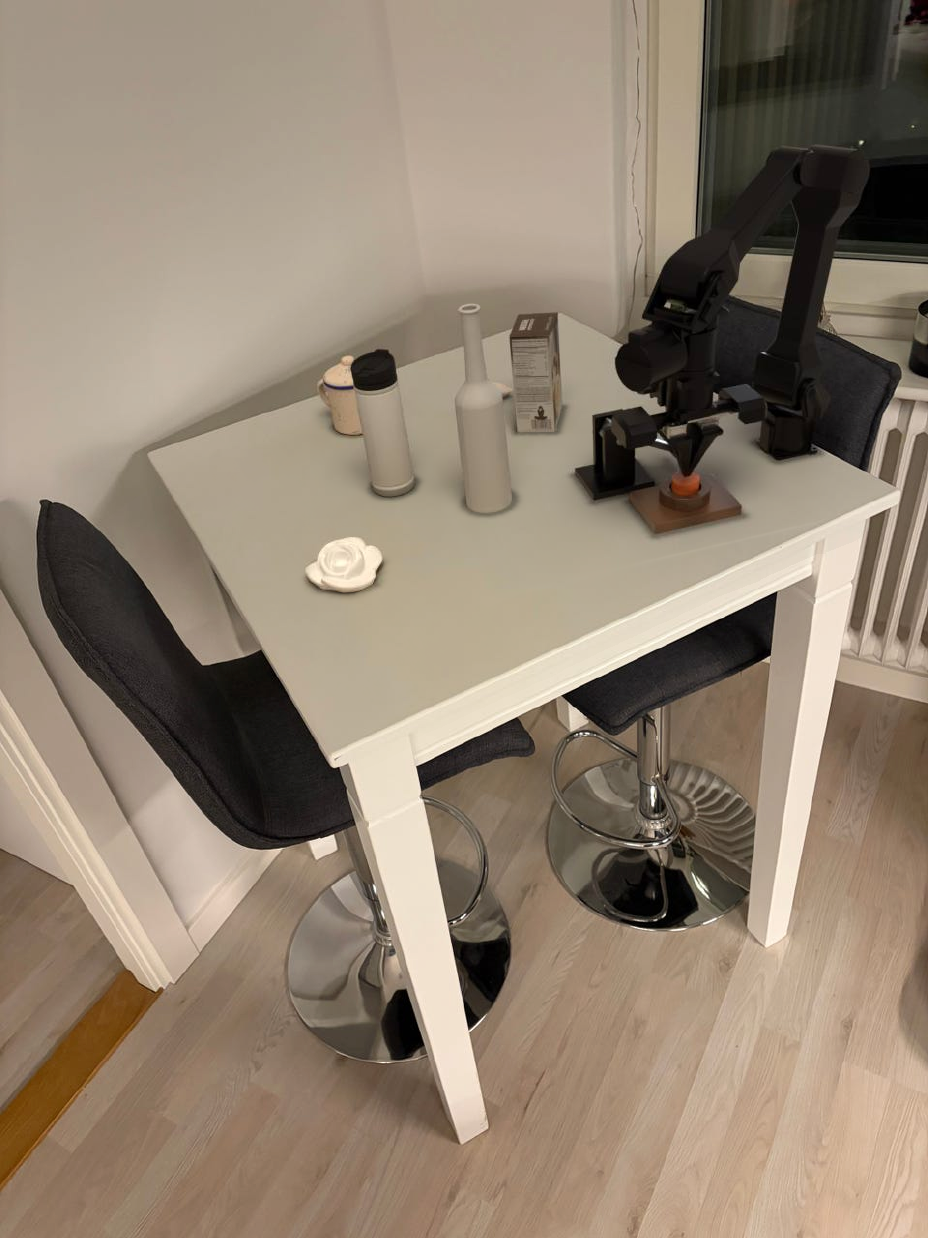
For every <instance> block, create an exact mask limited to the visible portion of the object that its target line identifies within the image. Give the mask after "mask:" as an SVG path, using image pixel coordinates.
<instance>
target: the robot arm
mask: <svg viewBox="0 0 928 1238" xmlns="http://www.w3.org/2000/svg"><path fill="white" fill-rule="evenodd" d="M869 161H870V160H868V159H867V157H866V154H865V152H864V151H863V150H862V149H858V148H849V147H840V146H833V145H832V146H831V145H824V144H812V145H809V147H807V148H805V147H796V146H795V147H794V146H787V145H785V146H784V145H782V146H779V147H776V148H773V149H772V150H771V151H770V152H769V154H768V156H767V157H766V160H765V164H764V166H763V167H761V169H760V170H759V172H758V173H757V174H756V175H755V177H754V178H753V179H752V180H751V181H750V182H749V184H747V186H746V188H744V190H743V191H742V192H741V193H740V195H739V196H738V197H737V198H736V199H735V201H734V202H733V203H732V204H731V205H730V206H729V207H728V209H727V210H726V211H725V212H724V213H723V215H721V217H720V218H719V219H718V220H717V222H716V223H715V224H714V225H713V226H712V227H711V228H710V229H709V230H708V231H706V232H705V233H703V234H700V235H698V236H697V237H695V238H692V239H690V240H688V241H686V242H685V243H684V244H682V246H681V247H679V248H678V249H677V250H676V251H675V252H673V254H671V255H670V256H669V257H668V258H667V259H666V261H665V263H664V264H663V266H662V268H661V270H660V273H659V275H658V277H657V280H656V282H655V284H654V287H653V289H652V291H651V294H650V296H649V298H648V301H647V302H646V305H645V308H644V310H643V311H642V314H641V319H642V320H644V321H647V322H650V324H648V325H646V326H643V327H641V328H636V329H633V330H631V331H629V332H628V334H627V342H626V343H623V344H622V345H621V346H620V347H619V348H618V350H617V353H616V356H615V357H614V368H615V373H616V375H617V377H618V379H619V381H620V382H621V384H622V385H623V386H624V387H625V388H626V389H627V390H629V391H631V392H634V393H637V394H638V395H642V396H646V395H649V399H654V398H655V399H656V403H657V405H659V407H660V408H662V407H664V408H665V411H663V412H659V413H653V414H650V413H648V412H647V411H646V410H645V408H644V407H643V406H642V405H641V406H635V407H631V408H626V409H623V410H621V411H616V412H615V414H614V415H613V417H612V419H611V431H612V432H613V434H614V435H615V436H616V437H617V438H618V440H619V441H620V442H621V443H622V444H623V446H624V447H625V448H627V449H635V450H636V449H640V448H644V447H651V446H650V445H652V444H653V443H654V441H655V440H656V439H658V435H659V436H660V437H661V438H662V440H663V439H664V440H665V441H666V442H667V443H668V445H671V446H672V448H673V451H674V454H675V457H676V458H675V457H674V458H675V460H676V462H677V466H678V468H679V472H681V474H682V475H683V476H684V477H688V476H691V474H692V473H693V472H694V471H695V470H696V468H697V466H698V464H699V463H700V461H701V459H702V458H703V457H704V455H705V454H706V452H707V451H708V450H709V448H710V447H711V446H712V444H713V443H714V441H715V440H716V439H717V438H718V437H721V436H723V435H724V432H725V431H724V430H725V429H723V428H722V427H721V425H720V418H721V417H724V416H728V415H729V416H730V415H734V414H736V413H737V419H738V420H739V422H741V423H742V424H744V425H745V426H746V425H750V424H756V423H760V430H759V431H760V432H759V437H758V438H756V441H755V442H756V444H757V445H758V446H759V447H760V448H762V449H763V450H764V451H765V453H767V454H768V455H769V456H770V457H771V458H773V459H774V460H775V461H777V462H778V461H784V460H788V459H792V458H793V459H794V458H797V457H803V456H806V455H812V454H816V453H818V450H819V448H818V447H817V446H816V445H815V444H814V443H813V440H814V434H815V425H816V420H821V419H823V416H824V413H826V412H827V410H828V408H829V405H830V402H831V399H832V396H831V394H830V393H829V392H828V390H827V389H826V388H825V387H824V386H823V385H822V383H821V382H820V380H821V372H822V365H823V364H822V360H821V358H820V355H819V352H818V349H817V347H816V343H815V342H816V336H817V331H818V326H819V323H820V319H821V314H822V309H823V304H824V300H825V295H826V292H827V287H828V283H829V277H830V273H831V269H832V264H833V259H834V255H835V251H836V246H837V242H838V237H839V233H840V229H841V227H842V225H843V224H844V223H845V222H846V220H847V219H848V218H849V217H850V215H852V213H853V212H854V211H855V210H856V208H857V207H858V206H859V204H860V202H861V199H862V195H863V192H864V189H865V187H866V185H867V183H868V180H869V177H870V172H871V166H870V162H869ZM790 203H791V206H792V209H793V211H794V215H795V217H796V221H797V232H796V237H795V241H794V246H793V251H792V255H791V261H790V265H789V271H788V276H787V281H786V286H785V290H784V296H783V302H782V305H781V312H780V315H779V321H778V325H777V331H776V335H775V339H774V340H773V342H772V343H770V345H769V346H768V347H767V349H766V350H765V351H764V352H759V353H757V355H756V358H755V364H754V371H753V374H752V376H751V379H750V381H751V382H752V383H751V384H752V386H750V385H749V384H747V383H745V384H739V385H736V386H730V387H726V388H722V389H720V391H719V392H718V394H717V400H716V401H715V400H714V391H715V385H717V384H720V374H719V373H718V372H717V371H716V359H717V358H716V357H717V341H718V325H719V322H720V321H722V320H725V319H727V318H729V316H730V315H731V311H730V310H729V309H728V308H726V307H725V306H723V304H724V303H725V302H726V300H727V299H728V297H729V295H730V294H731V292H732V291H733V289H734V288H735V286H736V285H737V283H738V281H739V278H740V269H741V263H742V262H743V260H744V258H745V257H746V256H747V254H748V253H749V252H750V250H751V249H752V248H753V247H754V246H755V245H756V243H757V242H758V241H759V240H760V239H761V237H762V236H763V235H764V234H765V232H766V231H768V229H769V228H770V226H772V224H773V223H774V221H775V220H776V219H777V218H778V217H779V216H780V214H781V213H782V212H783V211H784V210H785V208H786V207H787V206H788V205H789V204H790ZM668 303H669V304H671V305H675V306H678V307H681V308H686V309H687V310H686V311H682V310H678V309H675V308H671V307H668V306H665V305H666V304H668Z"/></svg>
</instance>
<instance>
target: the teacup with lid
mask: <svg viewBox="0 0 928 1238" xmlns="http://www.w3.org/2000/svg"><path fill="white" fill-rule="evenodd" d="M354 360H355V358H354V357H353V356H352V355H344V356H343V357H341V362H339V363H338V364H337V365H336V364H335V365H334V366H331V367H330V368H329V369H328V370H326V371H325V372H324V374H323V377H322V378H321V379H320V380H319V381H318V382H317V383H316V384H317V385H316V390H317V394H318V396H319V398H320V400H321V401H322V403H324V404H325V405H326V406H327V407H329V408H330V413H331V416H332V422H333V426H334V429H335V430H336V431H337V432H338V433H341V434H342V435H348V436H354V435H355V436H357V435H358V436H359V435H363V433H362V428H361V423H360V418H359V413H358V408H357V402H356V397H355V392H354V387H353V379H352V375H351V369H350V366H351V364H352V362H353V361H354ZM324 386H325V388H326V391H325V388H324Z"/></svg>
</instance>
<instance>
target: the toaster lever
mask: <svg viewBox="0 0 928 1238" xmlns="http://www.w3.org/2000/svg"><path fill="white" fill-rule="evenodd" d="M607 426H611V419H609V418H606V419H605V422H604V424H603V426H602V428H603V427H607ZM602 428H601V430H600V432H599V434H600V435H601V436H602V437H603V431H602ZM649 447H651V448H655V449H659V450H662V451H665V452H669V454H671V456H673V457H674V458H675V459H676V457H675V454H674V451H673V448H672V446H671V445H668V443H667V442H666V441H665V440H664V439H663V438H662V439H660V438H657V439H656V440H655V441H654V443H653V444H652V445H650V446H649Z"/></svg>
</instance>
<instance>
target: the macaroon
mask: <svg viewBox="0 0 928 1238" xmlns="http://www.w3.org/2000/svg"><path fill="white" fill-rule="evenodd" d="M492 383H493V384H494V385H495V386H496V387H497V388H498V389H499V390H500V392H501V393H502V398H503V399H504V398H505V397H506V396H508V395H509V394H511V393H513V392H514V389H512V388H511V387H509V386H508V385H505V384H504V383H502V382H501V383H500V382H496V381H495V382H494V381H493V382H492Z"/></svg>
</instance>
